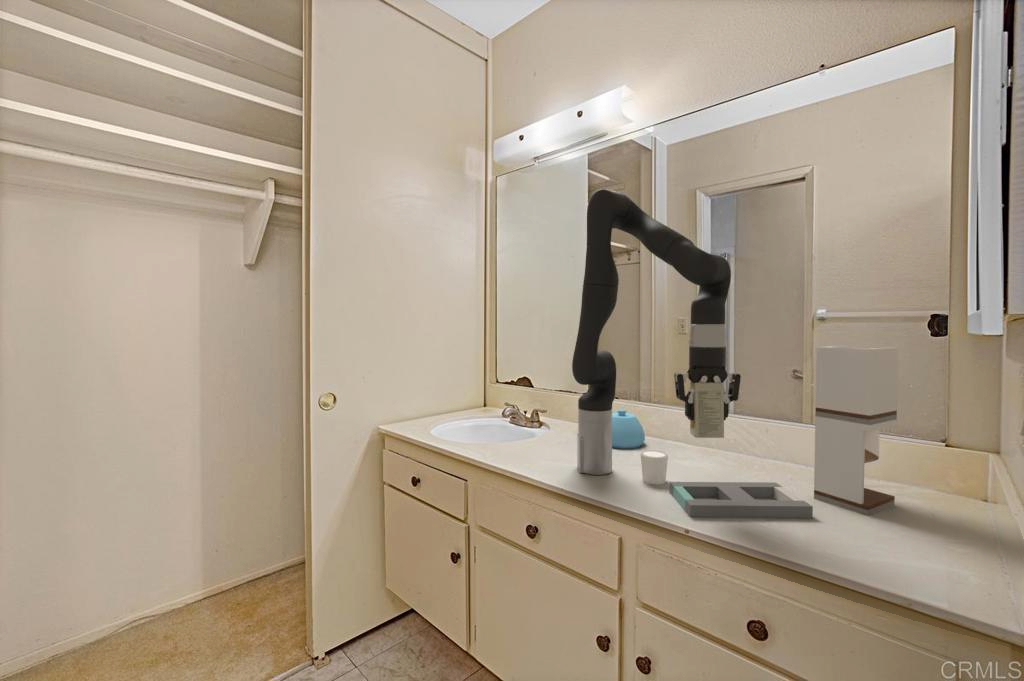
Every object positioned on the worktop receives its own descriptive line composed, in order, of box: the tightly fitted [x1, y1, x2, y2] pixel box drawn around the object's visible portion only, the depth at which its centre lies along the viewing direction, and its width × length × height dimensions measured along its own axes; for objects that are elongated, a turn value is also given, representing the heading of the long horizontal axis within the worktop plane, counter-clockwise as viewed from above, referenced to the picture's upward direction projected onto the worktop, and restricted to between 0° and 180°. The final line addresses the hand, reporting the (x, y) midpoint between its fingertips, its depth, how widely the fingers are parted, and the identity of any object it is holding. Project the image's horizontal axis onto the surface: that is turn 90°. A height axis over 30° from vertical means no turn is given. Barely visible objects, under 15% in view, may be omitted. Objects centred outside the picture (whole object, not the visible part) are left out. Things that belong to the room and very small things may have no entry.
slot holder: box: [668, 481, 814, 519], centre depth 101 cm, size 25×14×2 cm, turn 88°
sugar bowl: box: [612, 408, 646, 450], centre depth 152 cm, size 15×15×12 cm
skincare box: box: [689, 380, 725, 439], centre depth 100 cm, size 6×4×12 cm
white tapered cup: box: [640, 450, 669, 485], centre depth 116 cm, size 7×7×7 cm
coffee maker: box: [813, 345, 899, 517], centre depth 101 cm, size 11×11×35 cm
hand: (706, 419), depth 100 cm, fingers closed on skincare box, 6 cm apart
